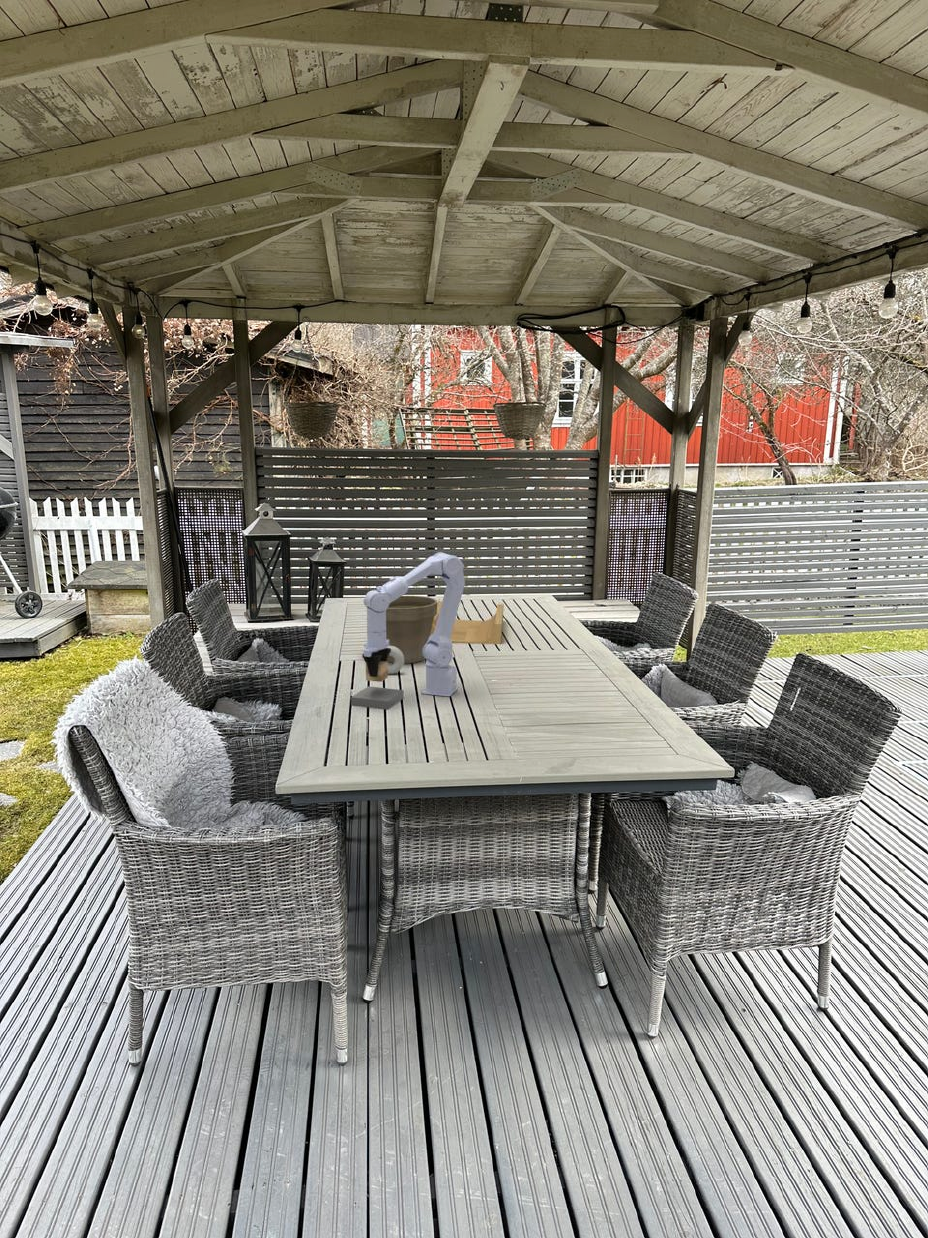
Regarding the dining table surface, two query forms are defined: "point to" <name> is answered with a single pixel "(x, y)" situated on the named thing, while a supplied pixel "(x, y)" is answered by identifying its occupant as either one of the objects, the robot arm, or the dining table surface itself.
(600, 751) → the dining table surface
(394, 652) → the donut
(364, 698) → the slate block
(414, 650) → the plant pot
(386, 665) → the oak cube
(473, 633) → the skate ramp
